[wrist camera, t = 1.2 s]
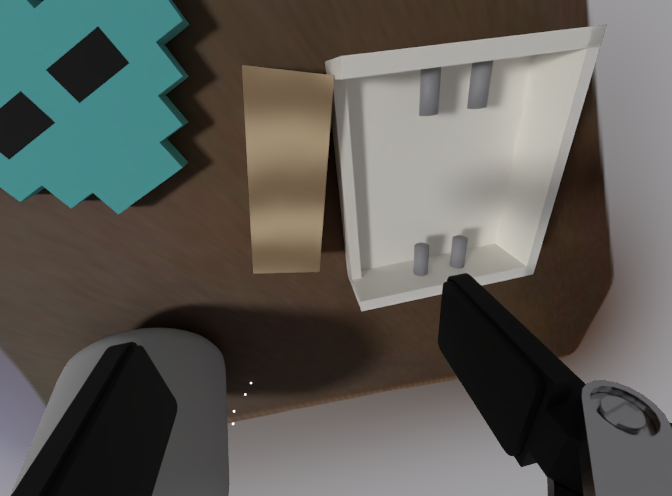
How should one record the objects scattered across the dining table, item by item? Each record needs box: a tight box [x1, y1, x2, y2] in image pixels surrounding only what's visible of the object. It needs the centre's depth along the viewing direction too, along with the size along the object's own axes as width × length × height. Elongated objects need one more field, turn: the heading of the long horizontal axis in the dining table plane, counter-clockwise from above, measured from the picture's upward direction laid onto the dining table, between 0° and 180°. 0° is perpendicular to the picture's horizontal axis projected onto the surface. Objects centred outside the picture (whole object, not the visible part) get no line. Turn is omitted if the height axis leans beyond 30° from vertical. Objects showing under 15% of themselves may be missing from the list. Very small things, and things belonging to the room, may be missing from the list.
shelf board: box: [242, 65, 334, 274], centre depth 25 cm, size 16×6×4 cm, turn 175°
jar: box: [10, 328, 252, 496], centre depth 24 cm, size 19×15×25 cm
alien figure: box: [0, 0, 189, 214], centre depth 19 cm, size 20×2×20 cm
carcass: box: [325, 25, 606, 311], centre depth 26 cm, size 20×18×6 cm
